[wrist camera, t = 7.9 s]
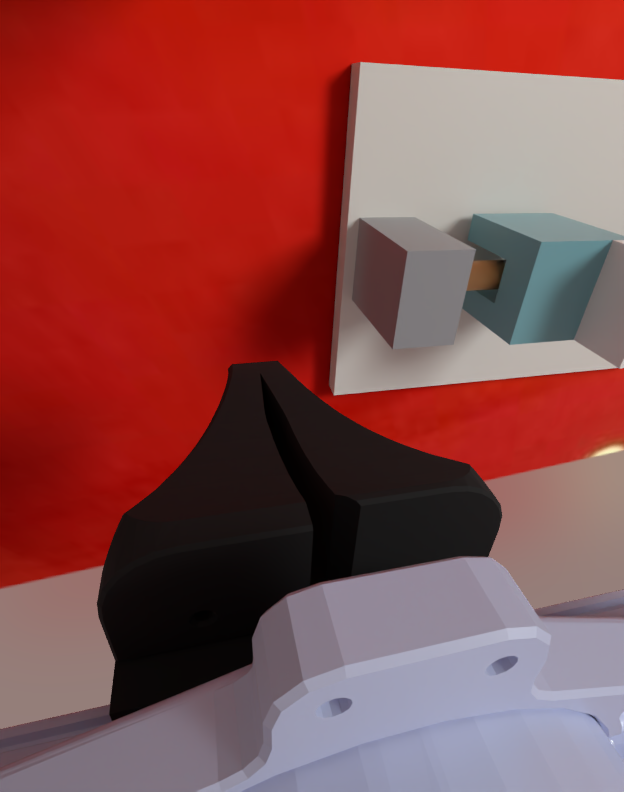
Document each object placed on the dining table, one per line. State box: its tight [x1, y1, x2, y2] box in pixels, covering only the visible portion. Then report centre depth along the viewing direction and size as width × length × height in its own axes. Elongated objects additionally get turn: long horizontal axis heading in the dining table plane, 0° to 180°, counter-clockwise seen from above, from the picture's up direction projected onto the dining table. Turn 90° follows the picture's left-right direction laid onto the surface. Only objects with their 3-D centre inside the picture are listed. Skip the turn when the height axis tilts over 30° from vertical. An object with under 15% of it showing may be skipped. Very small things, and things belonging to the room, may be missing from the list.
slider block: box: [462, 213, 624, 368], centre depth 18 cm, size 4×4×7 cm
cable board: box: [329, 62, 624, 395], centre depth 20 cm, size 14×20×6 cm
